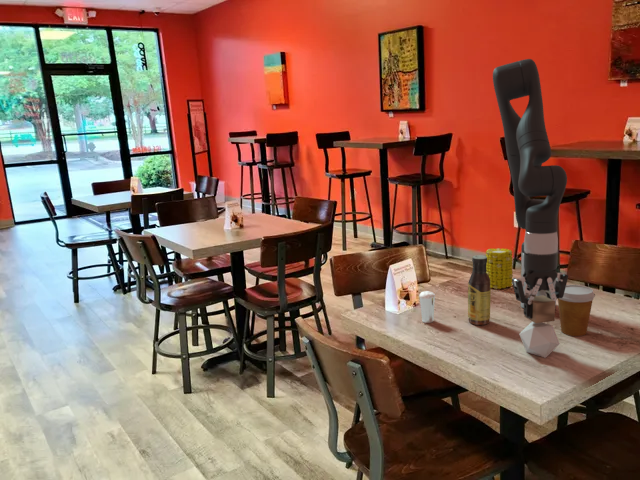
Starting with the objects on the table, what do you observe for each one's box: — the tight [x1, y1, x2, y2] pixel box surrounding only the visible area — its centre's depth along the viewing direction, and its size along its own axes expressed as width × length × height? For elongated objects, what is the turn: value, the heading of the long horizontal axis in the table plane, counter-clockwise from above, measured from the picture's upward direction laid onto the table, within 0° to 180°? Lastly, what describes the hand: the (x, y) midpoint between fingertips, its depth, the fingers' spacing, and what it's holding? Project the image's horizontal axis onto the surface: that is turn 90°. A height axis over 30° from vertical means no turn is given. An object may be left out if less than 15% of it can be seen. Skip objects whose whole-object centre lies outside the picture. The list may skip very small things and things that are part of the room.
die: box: [518, 321, 561, 359], centre depth 138 cm, size 8×9×10 cm
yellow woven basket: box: [485, 247, 514, 290], centre depth 192 cm, size 14×11×9 cm
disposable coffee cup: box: [557, 284, 596, 337], centre depth 149 cm, size 10×10×12 cm
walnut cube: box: [524, 295, 556, 323], centre depth 136 cm, size 5×5×5 cm
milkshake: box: [418, 288, 439, 324], centre depth 164 cm, size 4×5×10 cm
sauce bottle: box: [467, 254, 492, 326], centre depth 159 cm, size 7×6×20 cm
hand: (539, 316), depth 137 cm, fingers closed on walnut cube, 5 cm apart
